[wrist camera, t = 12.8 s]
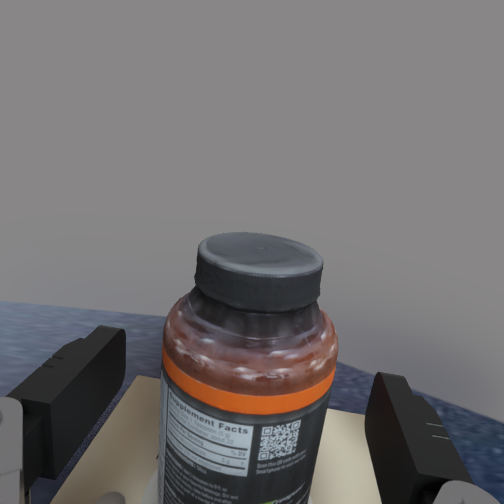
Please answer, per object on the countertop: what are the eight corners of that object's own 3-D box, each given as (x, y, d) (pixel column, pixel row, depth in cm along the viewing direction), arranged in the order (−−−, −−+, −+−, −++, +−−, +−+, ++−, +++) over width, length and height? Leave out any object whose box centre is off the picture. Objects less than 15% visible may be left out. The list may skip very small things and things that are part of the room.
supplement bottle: (226, 428, 19) (251, 217, 15) (328, 506, 15) (388, 257, 12) (124, 509, 14) (126, 235, 11) (235, 645, 11) (289, 307, 7)
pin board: (-92, 749, 9) (-116, 674, 8) (137, 391, 23) (138, 346, 22) (472, 902, 8) (519, 837, 7) (363, 431, 21) (374, 387, 21)
